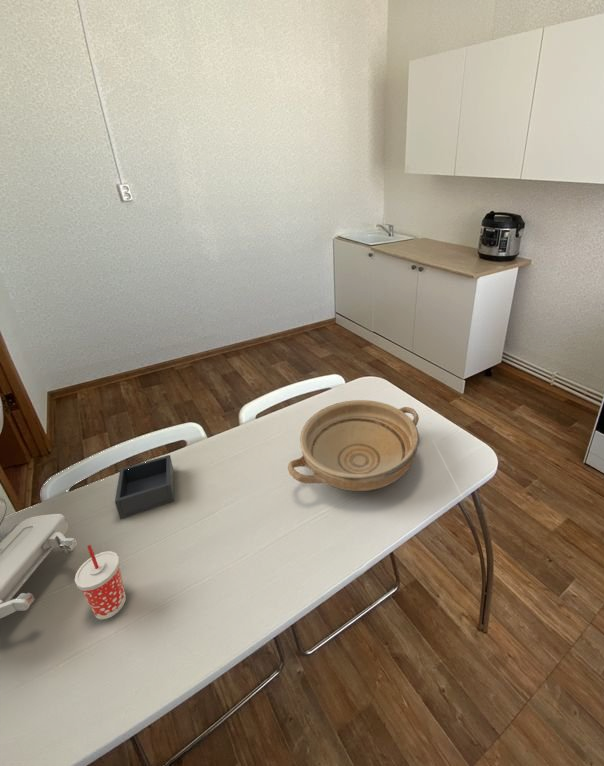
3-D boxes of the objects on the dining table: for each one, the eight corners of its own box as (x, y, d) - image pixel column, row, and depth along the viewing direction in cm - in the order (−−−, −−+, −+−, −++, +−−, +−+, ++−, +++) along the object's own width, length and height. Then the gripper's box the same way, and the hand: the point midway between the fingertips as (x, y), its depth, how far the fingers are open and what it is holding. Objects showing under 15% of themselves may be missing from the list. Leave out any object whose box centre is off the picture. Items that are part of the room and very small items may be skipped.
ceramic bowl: (326, 550, 75) (324, 511, 71) (266, 465, 96) (262, 433, 93) (453, 466, 95) (456, 432, 92) (380, 412, 117) (380, 383, 113)
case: (120, 519, 82) (114, 501, 80) (125, 485, 91) (120, 468, 89) (174, 501, 86) (170, 484, 84) (173, 470, 95) (170, 454, 93)
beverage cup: (87, 602, 66) (64, 543, 61) (127, 579, 70) (108, 522, 65) (91, 633, 62) (66, 573, 57) (133, 607, 65) (114, 548, 60)
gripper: (28, 530, 75) (98, 530, 74) (-88, 655, 55) (6, 655, 55) (18, 505, 72) (90, 505, 72) (-107, 627, 53) (-9, 627, 53)
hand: (53, 571), depth 64 cm, fingers open, 8 cm apart
